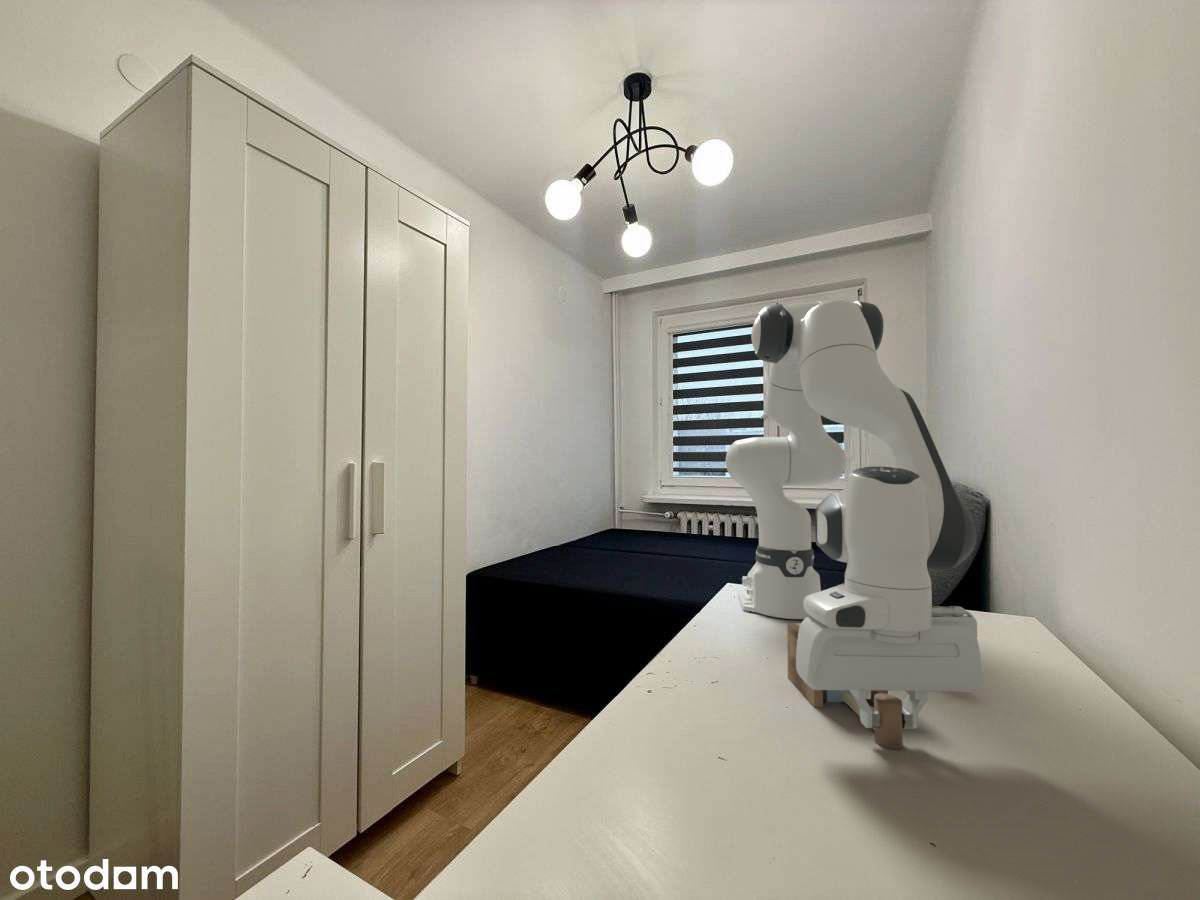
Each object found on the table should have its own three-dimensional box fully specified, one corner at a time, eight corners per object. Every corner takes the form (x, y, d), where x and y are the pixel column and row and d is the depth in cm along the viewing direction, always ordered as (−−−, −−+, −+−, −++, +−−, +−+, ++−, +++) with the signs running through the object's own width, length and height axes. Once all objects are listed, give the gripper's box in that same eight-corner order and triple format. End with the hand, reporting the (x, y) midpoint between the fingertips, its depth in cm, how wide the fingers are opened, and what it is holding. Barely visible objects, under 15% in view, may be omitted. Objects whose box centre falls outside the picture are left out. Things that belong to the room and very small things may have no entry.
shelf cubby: (787, 677, 75) (787, 623, 75) (852, 678, 75) (852, 623, 75) (813, 706, 66) (813, 644, 66) (888, 707, 66) (887, 645, 66)
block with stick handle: (811, 685, 72) (811, 651, 72) (845, 686, 72) (845, 651, 72) (873, 749, 56) (873, 704, 56) (917, 749, 56) (917, 704, 56)
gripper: (956, 599, 61) (957, 713, 61) (790, 597, 61) (790, 711, 61) (997, 614, 55) (999, 741, 54) (812, 612, 55) (813, 740, 54)
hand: (888, 726), depth 57 cm, fingers closed on block with stick handle, 3 cm apart
